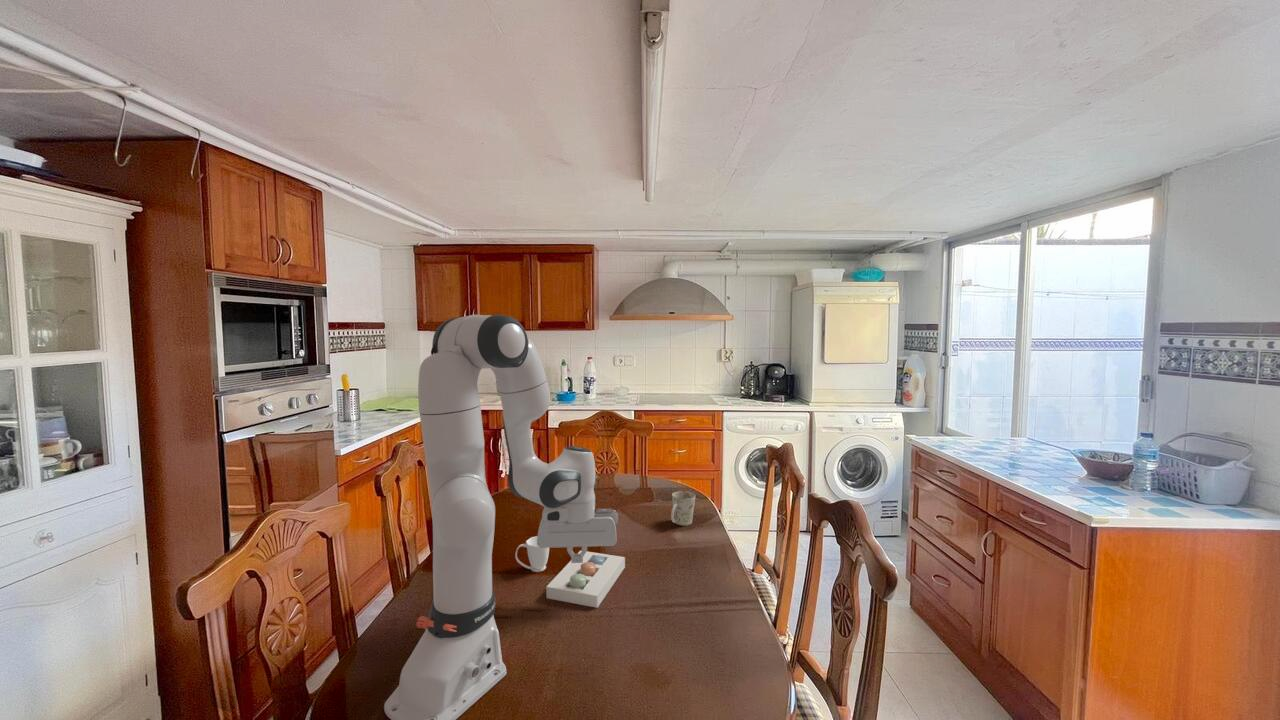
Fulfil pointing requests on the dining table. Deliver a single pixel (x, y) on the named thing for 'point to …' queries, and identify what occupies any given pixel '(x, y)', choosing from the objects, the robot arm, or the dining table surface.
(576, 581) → the sage button
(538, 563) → the cup
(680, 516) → the mug
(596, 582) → the button panel
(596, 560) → the slate button
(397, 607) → the dining table surface
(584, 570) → the terracotta button
